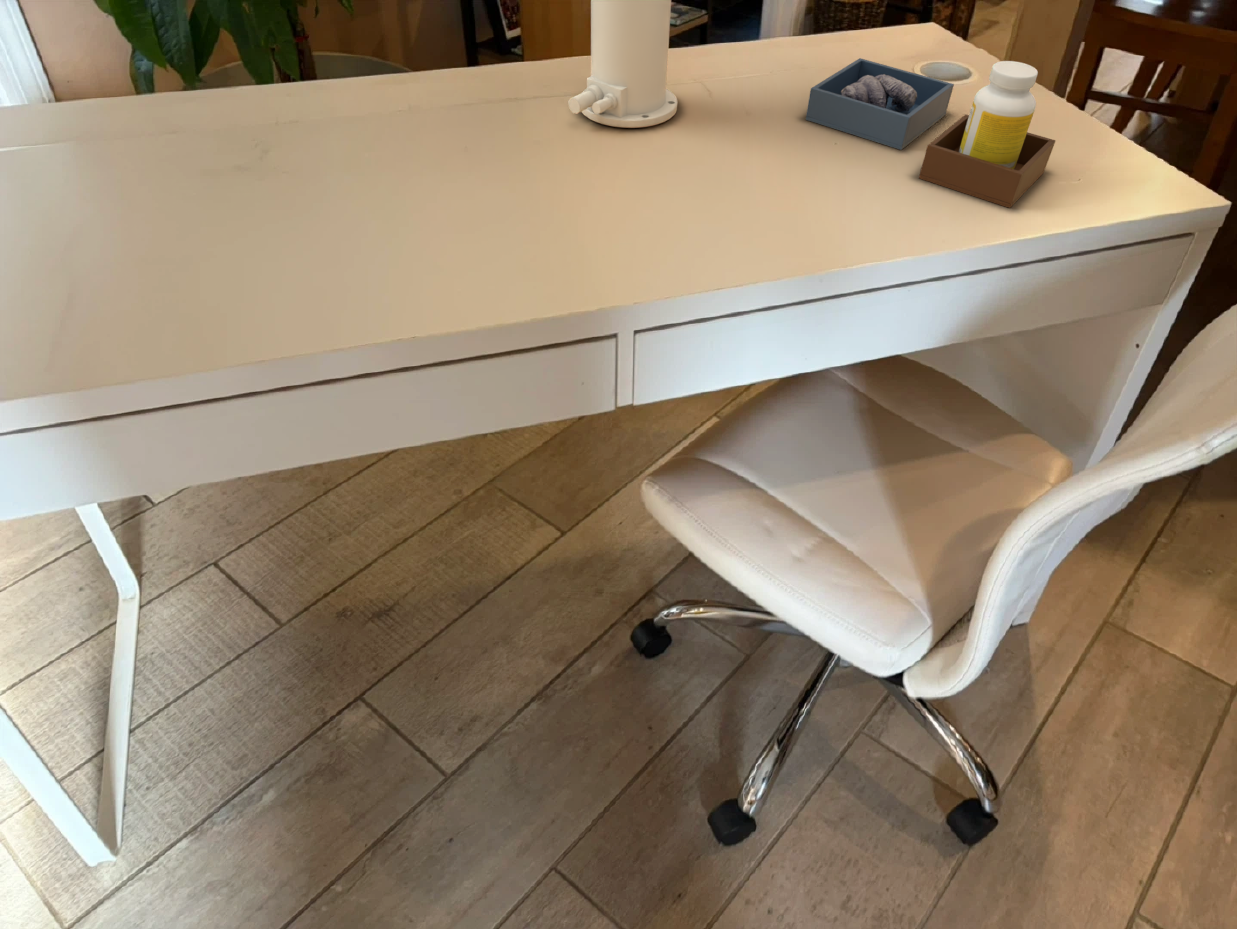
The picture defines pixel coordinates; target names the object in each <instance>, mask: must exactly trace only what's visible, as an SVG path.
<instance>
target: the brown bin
mask: <svg viewBox="0 0 1237 929" xmlns="http://www.w3.org/2000/svg"><path fill="white" fill-rule="evenodd" d="M968 118H969V114H964V115H963V116H962V117H960V118H959V119H958V120H957V121H955V122H954V123H953V124H952V125H950V126H949V127H948V128H947V129H946V130H944V131H943V132H942V133H940V134H939V135H938V136H937V137H936V138H935V139H933V140H932V141H930V142H929V143H928V145H927V146H926V150H925V154H924V156H923V161H922V165H921V169H920V172H919V176H918V179H920V180H923V181H926V182H928V183H933V184H934V185H935V184H936V185H939V186H940V187H941V186H942V187H944V188H948V189H950V190H953V191H957V192H958V193H963V194H964V195H965V194H966V195H969V196H972V197H975V198H978V199H981V200H983V201H987V202H990V203H993V204H996V205H999V206H1002V207H1005V208H1008V209H1011V208H1012V207H1013V206H1014V205H1015V204H1016V203H1017V201H1018V200H1019V199H1020V198H1021V197H1022V196H1023V195H1024V194H1025V193H1026V192H1027V191H1028V190H1029V189H1030V188H1031V187H1032V186H1033V185H1034V184H1035V183H1036V181H1038V179H1039V178H1041V177H1042V175H1044V173H1045V171H1046V168H1047V164H1048V163H1049V160H1050V157H1051V154H1052V152H1053V149H1054V146H1055V144H1056V140H1055V139H1052V138H1048V137H1045V136H1042V135H1038V134H1035V133H1032V132H1028V131H1027V134H1026V137H1025V140H1024V143H1023V146H1022V149H1021V151H1020V154H1019V157H1018V160H1017V163H1016V166H1015V169H1011V168H1008V167H1004V166H1001V165H998V164H995V163H991V162H988V161H985V160H982V159H979V158H975V157H972V156H969V155H966V154H962V153H959V149H960V145H961V142H962V138H963V135H964V131H965V128H966V124H967V121H968Z"/></svg>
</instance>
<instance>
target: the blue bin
mask: <svg viewBox="0 0 1237 929" xmlns="http://www.w3.org/2000/svg"><path fill="white" fill-rule="evenodd" d="M883 74H885V75H889V76H892V77H894V78H896V79H897V80H900V81H902V82H903V83H906V84H908V85H910V86H911V87H912V88H913V89H914V90H915V91H916V92H917V99H916V101H915V104H914V105H913V107H912V108H911V109H909V111H902V112H900V111H898V110H897V109H896V106H897V105H894V106H892V104H891V103H892V99H893V98H891V97H888V102H887V106H886V108H882V107H879V106H875V105H872V104H869V103H865V102H862V101H859V100H855V99H852V98H849V97H845V96H842V94H841V91H842V90H843V89H844V88H845V87H847V86H850V85H851V84H853V83H856V82H857V81H858V80H859V79H860V78H862V77H864V76H867V75H869V76H873V77H876V76H878V75H883ZM954 85H955V84H954V83H952V82H948V81H944V80H940V79H937V78H933V77H930V76H927V75H923V74H918V73H916V72H912V71H908V70H905V69H901V68H897V67H894V66H890V65H887V64H884V63H879V62H875V61H871V60H869V59H864V58H861V57H860V58H857V59H855V60H854V61H853V62H851V63H849V64H848V65H846V66H844V67H843V68H842V69H840V70H838V71H837V72H835V73H833V74H832V75H830V76H828V77H827V78H825V79H823V80H822V81H820V82H819V83H817V84H815V85H814V86H812V87H810V91H809V97H808V103H807V109H806V115H805V120H806V121H808V122H812V123H815V124H817V125H821V126H825V127H827V128H831V129H833V130H836V131H840V132H843V133H846V134H850V135H852V136H856V137H858V138H861V139H865V140H867V141H872V142H875V143H878V144H881V145H884V146H887V147H890V148H893V149H897V150H900V151H902V150H904V148H906V147H907V146H908V145H910V144H911V143H912V142H913V141H915V140H916V139H917V138H919V137H920V136H921V135H922V134H924V133H925V132H926V131H927V130H928V129H930V128H931V127H932V126H934V125H935V124H936V123H937V122H939V121H940V120H941V119H942V118H944V117H945V116H946V115H947V111H948V108H949V105H950V104H949V103H950V100H951V96H952V93H953V90H954Z"/></svg>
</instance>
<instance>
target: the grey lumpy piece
mask: <svg viewBox="0 0 1237 929" xmlns="http://www.w3.org/2000/svg"><path fill="white" fill-rule="evenodd" d="M841 94H842V96H845V97H849V98H852V99H855V100H859V101H862V102H865V103H869V104H872V105H875V106H879V107H882V108H886V106H887V102H888V97H891V98H893V99H892V103H891V104H892V106H894V105H897V106H896V109H897V110H898V111H900V112H902V111H909V109H911V108H912V107H913V105H914V104H915V101H916V99H917V92H916V91H915V90H914V89H913V88H912V87H911V86H910V85H908V84H906V83H903V82H902V81H900V80H897V79H896V78H894V77H892V76H889V75H885V74H883V75H878V76H876V77H873V76H869V75H867V76H864V77H862V78H860V79H859V80H858V81H857V82H856V83H853V84H851V85H850V86H847V87H845V88H844V89H843V90H842V91H841Z"/></svg>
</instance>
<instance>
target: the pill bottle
mask: <svg viewBox="0 0 1237 929" xmlns="http://www.w3.org/2000/svg"><path fill="white" fill-rule="evenodd" d="M1038 74H1039V72H1038V69H1036V67H1034V66H1032V65H1030V64H1028V63H1024V62H1021V61H1014V60H1001V61H996V62H995V63H993V65H992V67H991V70H990V72H989V76H988V80H989V81H988V82H989V83H988V84H987V85H984V86H983V87H981V88H980V89H979V90H978V91H977V92H976V94H975V95H974V97H973V100H972V103H971V108H970V111H969V114H968V115H969V118H968V121H967V124H966V128H965V131H964V135H963V138H962V142H961V145H960V149H959V153H962V154H966V155H969V156H972V157H975V158H979V159H982V160H985V161H988V162H991V163H995V164H998V165H1001V166H1004V167H1008V168H1011V169H1015V166H1016V163H1017V160H1018V157H1019V154H1020V151H1021V149H1022V146H1023V143H1024V140H1025V137H1026V134H1027V132H1028V131H1029V128H1030V125H1031V122H1032V119H1033V116H1034V114H1035V110H1036V108H1037V101H1036V98H1035V96H1034V95H1033V93H1032V92H1031V91H1030V90H1031V89H1032V88H1033V87H1034V86H1035V84H1036V81H1037V77H1038Z"/></svg>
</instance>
